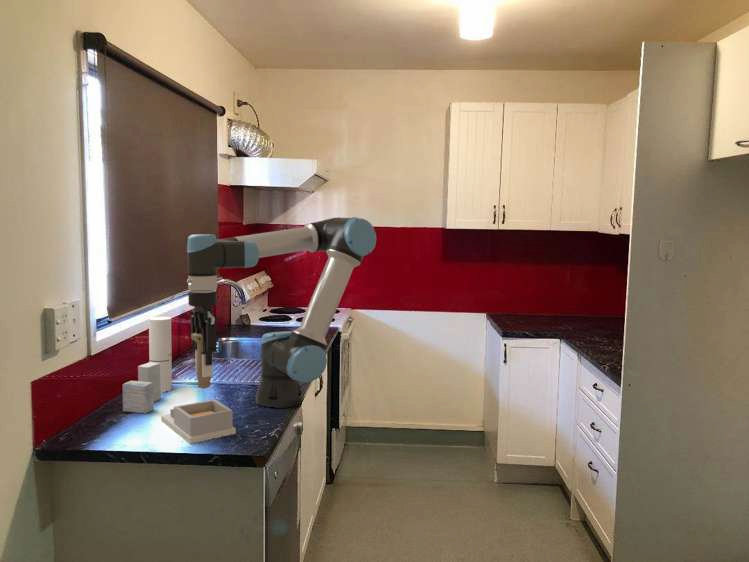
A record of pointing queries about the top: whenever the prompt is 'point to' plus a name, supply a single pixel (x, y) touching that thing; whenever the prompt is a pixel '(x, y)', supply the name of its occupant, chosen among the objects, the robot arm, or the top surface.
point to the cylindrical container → (161, 349)
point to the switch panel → (200, 421)
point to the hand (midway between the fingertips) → (204, 374)
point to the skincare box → (151, 377)
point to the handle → (200, 362)
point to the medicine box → (138, 396)
